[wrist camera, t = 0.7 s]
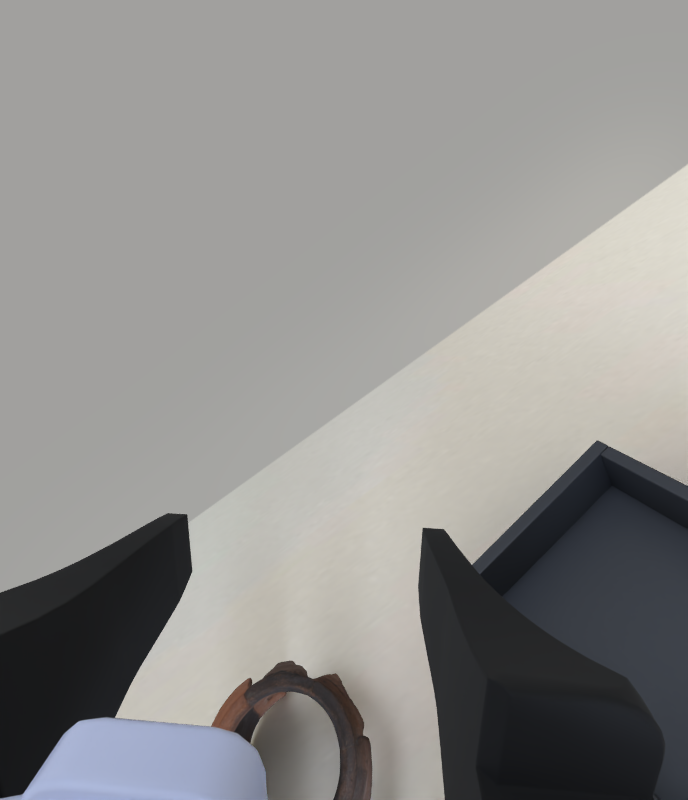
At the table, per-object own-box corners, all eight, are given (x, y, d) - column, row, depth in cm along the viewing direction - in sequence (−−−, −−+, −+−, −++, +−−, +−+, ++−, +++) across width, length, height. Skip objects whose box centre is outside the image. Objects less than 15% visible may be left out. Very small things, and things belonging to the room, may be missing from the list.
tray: (916, 648, 17) (935, 610, 15) (708, 880, 16) (697, 875, 14) (611, 476, 27) (596, 439, 25) (475, 613, 26) (448, 587, 24)
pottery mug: (308, 643, 32) (290, 613, 25) (410, 772, 27) (421, 775, 21) (153, 799, 27) (83, 811, 21) (246, 986, 22) (192, 1078, 16)
